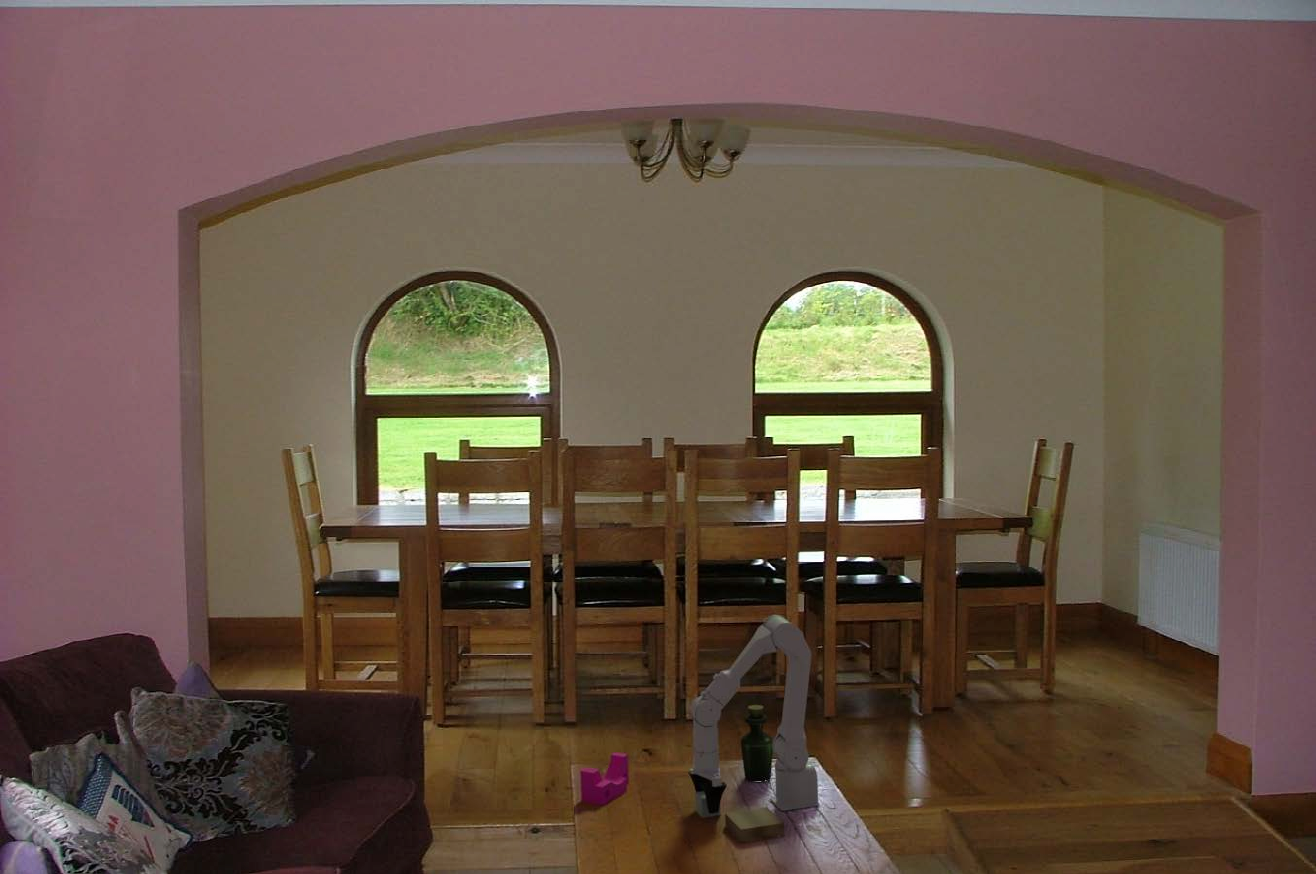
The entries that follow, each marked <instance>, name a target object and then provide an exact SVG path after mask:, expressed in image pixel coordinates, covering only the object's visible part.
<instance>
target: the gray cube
mask: <svg viewBox="0 0 1316 874" xmlns="http://www.w3.org/2000/svg"><path fill="white" fill-rule="evenodd" d="M694 798H695V812H696V813H697V814H698V815H699V816H700V817H701V818H703V819H704V818H709V817H716V815H718V816H721V813H722V811H721V805H720V806H719V811H718V813H712V814H710V813H709V811H708V808H707V801H706V796H705V793H704V791H702V792H696V791H695V797H694Z"/></svg>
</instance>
